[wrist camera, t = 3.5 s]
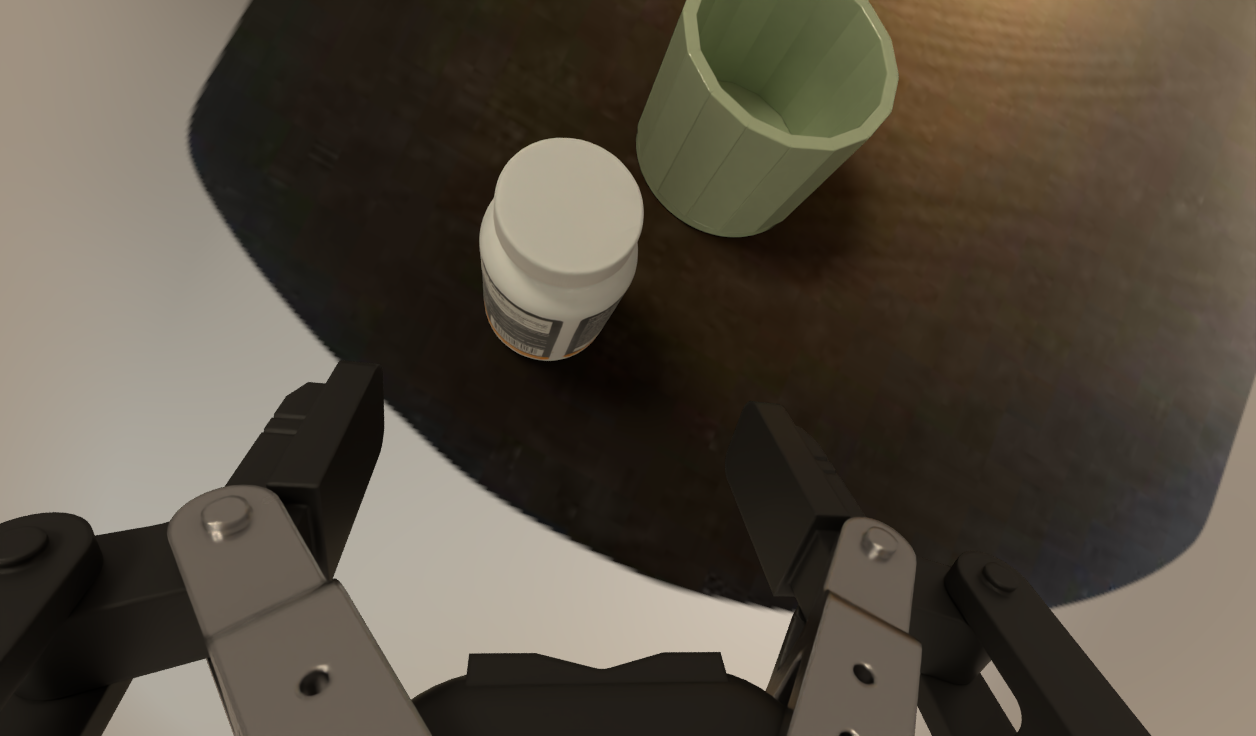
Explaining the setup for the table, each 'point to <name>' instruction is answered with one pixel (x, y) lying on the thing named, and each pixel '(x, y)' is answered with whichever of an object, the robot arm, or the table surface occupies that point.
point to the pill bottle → (558, 246)
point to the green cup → (761, 107)
